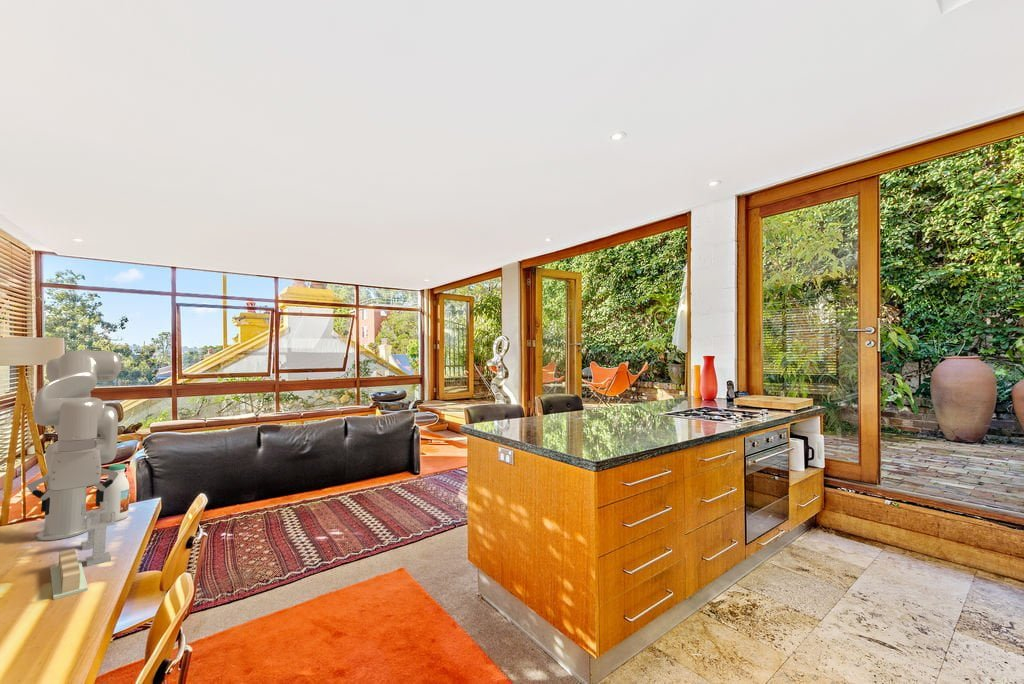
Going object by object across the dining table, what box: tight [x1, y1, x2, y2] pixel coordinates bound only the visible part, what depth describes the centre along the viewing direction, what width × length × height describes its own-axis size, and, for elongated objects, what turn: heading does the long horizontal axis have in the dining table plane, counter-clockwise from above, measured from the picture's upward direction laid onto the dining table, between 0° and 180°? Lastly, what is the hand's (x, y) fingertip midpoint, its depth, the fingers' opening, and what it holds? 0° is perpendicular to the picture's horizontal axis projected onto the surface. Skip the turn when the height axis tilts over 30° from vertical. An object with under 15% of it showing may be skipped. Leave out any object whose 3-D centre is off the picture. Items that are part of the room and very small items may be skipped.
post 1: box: [80, 500, 109, 551], centre depth 136 cm, size 5×6×13 cm
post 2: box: [84, 511, 116, 567], centre depth 126 cm, size 5×6×13 cm
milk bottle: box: [99, 463, 130, 522], centre depth 159 cm, size 8×8×20 cm
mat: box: [49, 559, 89, 600], centre depth 114 cm, size 23×6×1 cm, turn 49°
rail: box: [58, 547, 80, 594], centre depth 115 cm, size 22×3×4 cm, turn 48°
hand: (72, 509), depth 116 cm, fingers open, 9 cm apart
